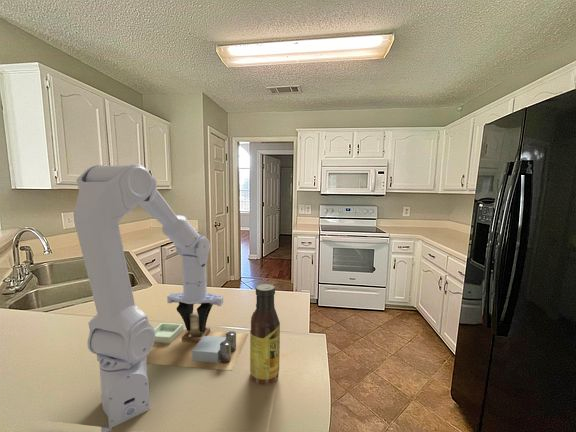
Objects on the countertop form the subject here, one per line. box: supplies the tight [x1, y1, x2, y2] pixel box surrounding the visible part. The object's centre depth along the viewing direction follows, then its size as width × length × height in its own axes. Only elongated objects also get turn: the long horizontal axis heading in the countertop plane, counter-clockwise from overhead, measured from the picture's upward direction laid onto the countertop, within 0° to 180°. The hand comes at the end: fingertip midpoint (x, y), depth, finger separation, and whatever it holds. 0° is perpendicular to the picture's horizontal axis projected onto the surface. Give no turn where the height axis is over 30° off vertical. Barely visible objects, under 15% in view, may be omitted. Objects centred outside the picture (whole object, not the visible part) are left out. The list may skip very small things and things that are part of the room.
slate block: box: [192, 336, 226, 363], centre depth 60 cm, size 6×6×2 cm
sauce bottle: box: [249, 283, 281, 386], centre depth 53 cm, size 7×6×20 cm
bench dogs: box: [220, 330, 237, 364], centre depth 60 cm, size 2×6×4 cm, turn 174°
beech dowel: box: [190, 311, 202, 337], centre depth 67 cm, size 3×3×6 cm
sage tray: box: [154, 322, 184, 344], centre depth 67 cm, size 6×6×2 cm
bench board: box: [146, 326, 249, 371], centre depth 63 cm, size 25×14×2 cm, turn 84°
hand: (196, 329), depth 67 cm, fingers closed on beech dowel, 3 cm apart
